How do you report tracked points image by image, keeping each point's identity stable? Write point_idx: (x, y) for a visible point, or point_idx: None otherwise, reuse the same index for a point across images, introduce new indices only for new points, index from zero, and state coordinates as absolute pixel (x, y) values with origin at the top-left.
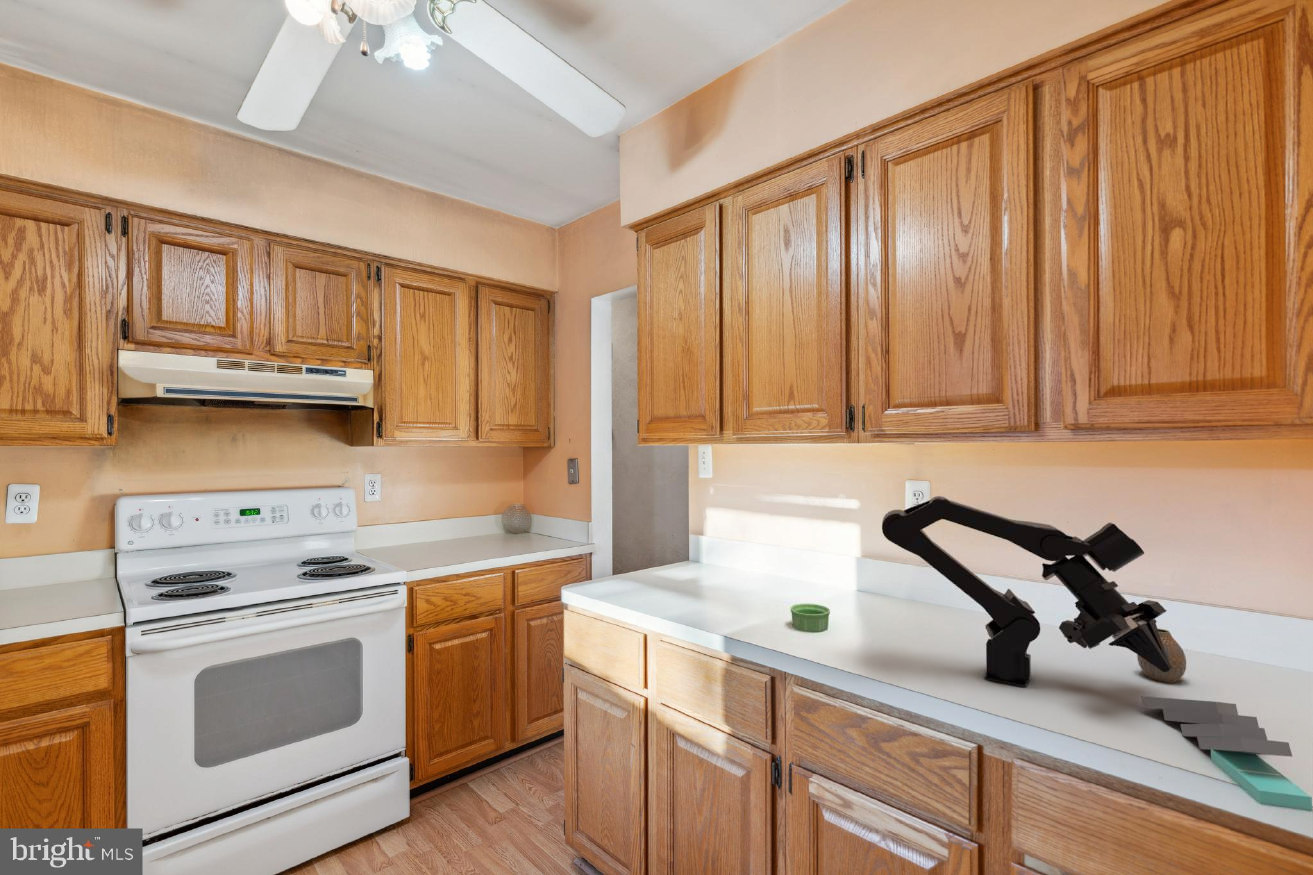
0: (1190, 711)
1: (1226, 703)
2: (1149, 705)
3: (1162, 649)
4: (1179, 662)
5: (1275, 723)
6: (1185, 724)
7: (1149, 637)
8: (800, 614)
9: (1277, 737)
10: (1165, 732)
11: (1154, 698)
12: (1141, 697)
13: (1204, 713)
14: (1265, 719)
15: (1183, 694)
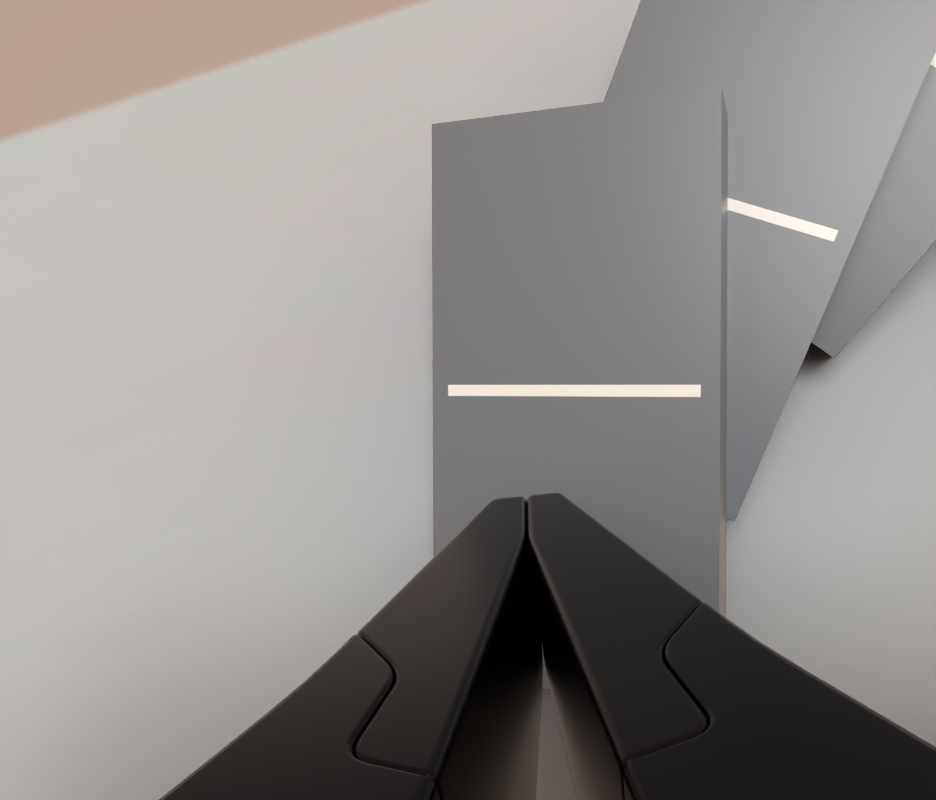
0: (847, 254)
1: (559, 111)
2: None
3: (479, 594)
4: None
5: (91, 207)
6: (883, 298)
7: (860, 733)
8: None
9: (308, 125)
10: (882, 440)
11: (716, 595)
12: None
13: (903, 123)
14: (70, 254)
15: (11, 701)
